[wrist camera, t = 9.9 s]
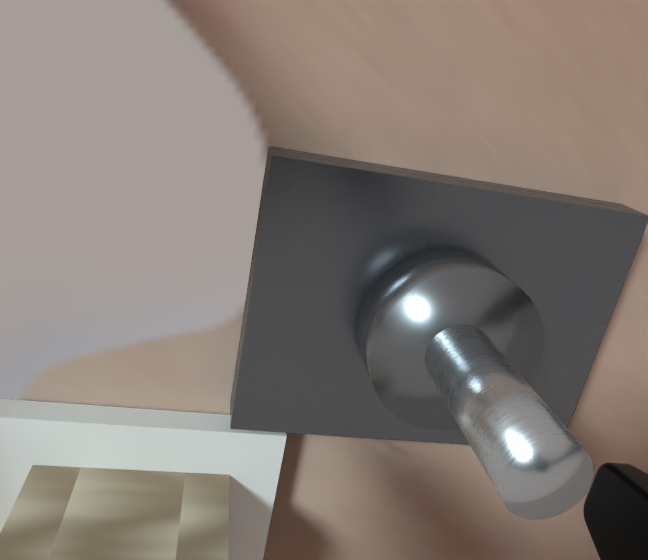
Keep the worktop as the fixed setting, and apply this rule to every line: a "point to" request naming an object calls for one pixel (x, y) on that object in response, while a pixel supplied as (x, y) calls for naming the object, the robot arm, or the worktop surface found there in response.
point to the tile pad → (146, 455)
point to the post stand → (430, 315)
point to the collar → (117, 515)
